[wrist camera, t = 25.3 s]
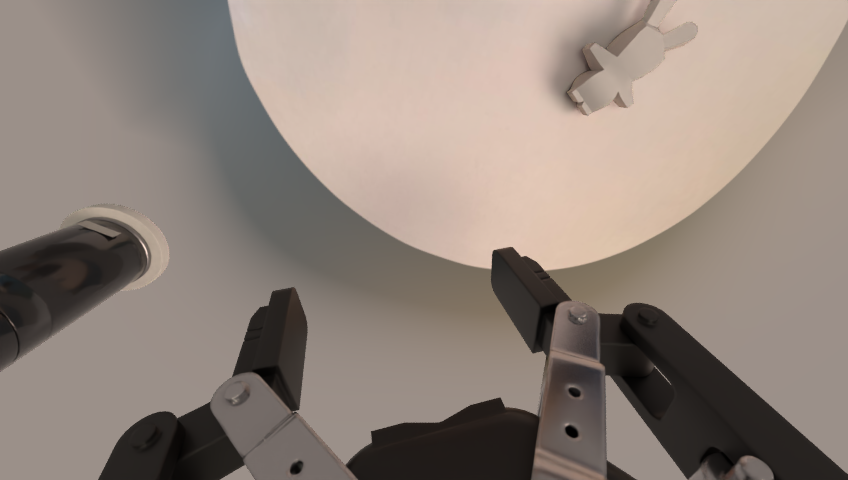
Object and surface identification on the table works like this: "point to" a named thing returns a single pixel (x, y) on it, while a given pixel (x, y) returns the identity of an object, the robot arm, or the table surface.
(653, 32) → the bunny figurine
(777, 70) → the table surface
